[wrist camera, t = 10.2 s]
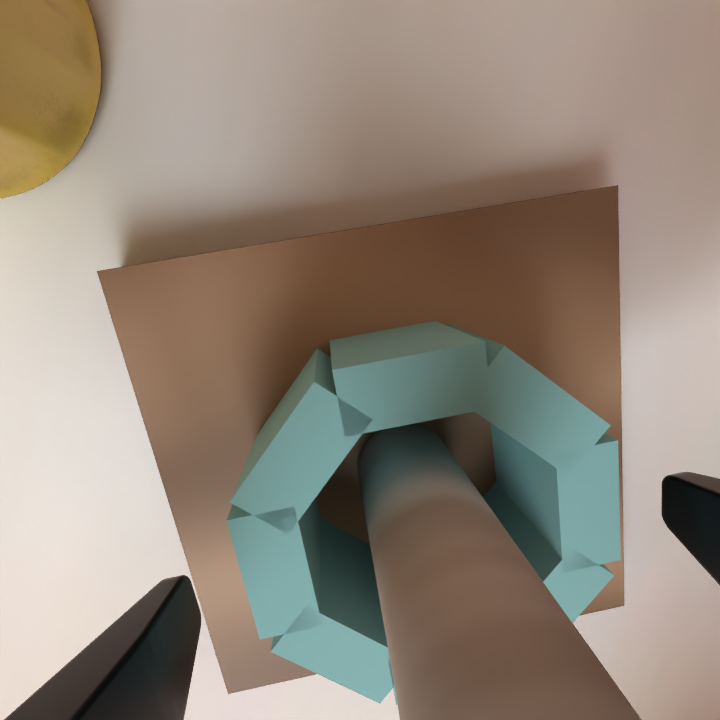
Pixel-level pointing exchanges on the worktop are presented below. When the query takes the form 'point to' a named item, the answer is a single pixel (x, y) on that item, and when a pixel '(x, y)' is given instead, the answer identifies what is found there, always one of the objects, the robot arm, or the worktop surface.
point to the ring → (398, 408)
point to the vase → (45, 88)
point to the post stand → (390, 435)
